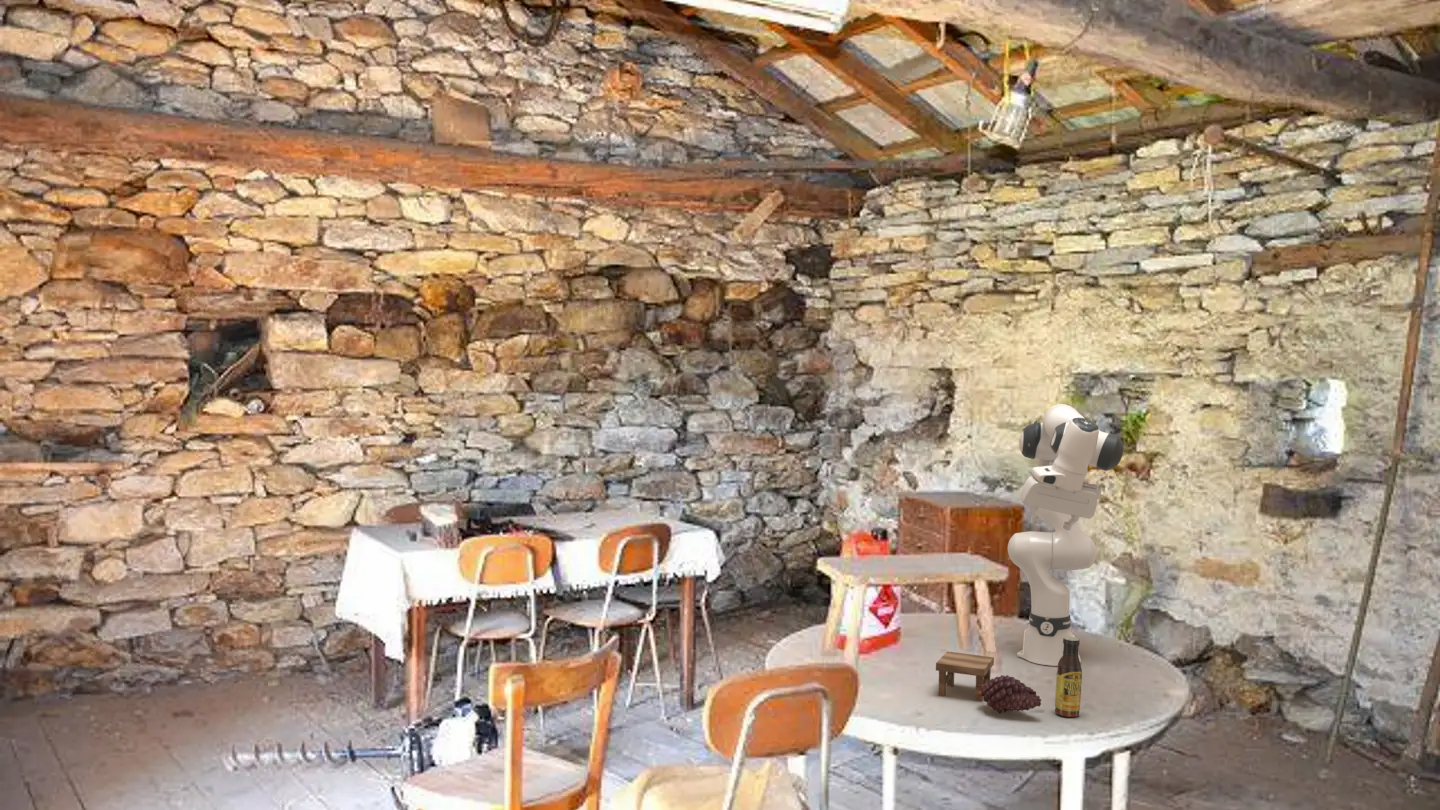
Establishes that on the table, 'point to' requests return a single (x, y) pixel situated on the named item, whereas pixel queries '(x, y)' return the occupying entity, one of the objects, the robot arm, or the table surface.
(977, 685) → the light brown wooden stool
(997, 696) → the pine cone
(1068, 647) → the sauce bottle
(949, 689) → the table surface
